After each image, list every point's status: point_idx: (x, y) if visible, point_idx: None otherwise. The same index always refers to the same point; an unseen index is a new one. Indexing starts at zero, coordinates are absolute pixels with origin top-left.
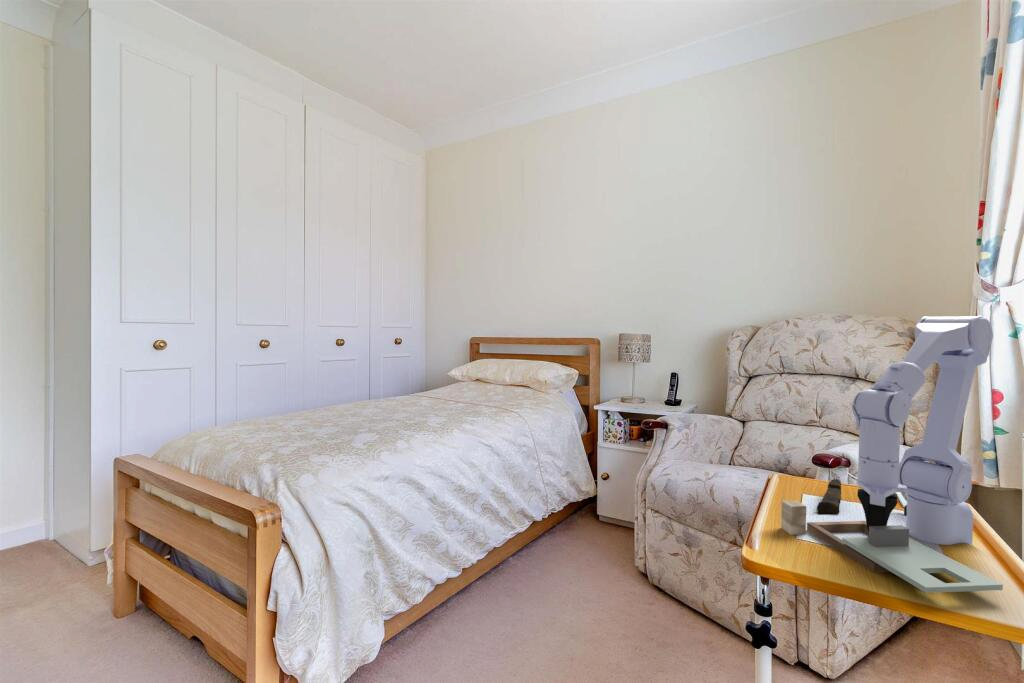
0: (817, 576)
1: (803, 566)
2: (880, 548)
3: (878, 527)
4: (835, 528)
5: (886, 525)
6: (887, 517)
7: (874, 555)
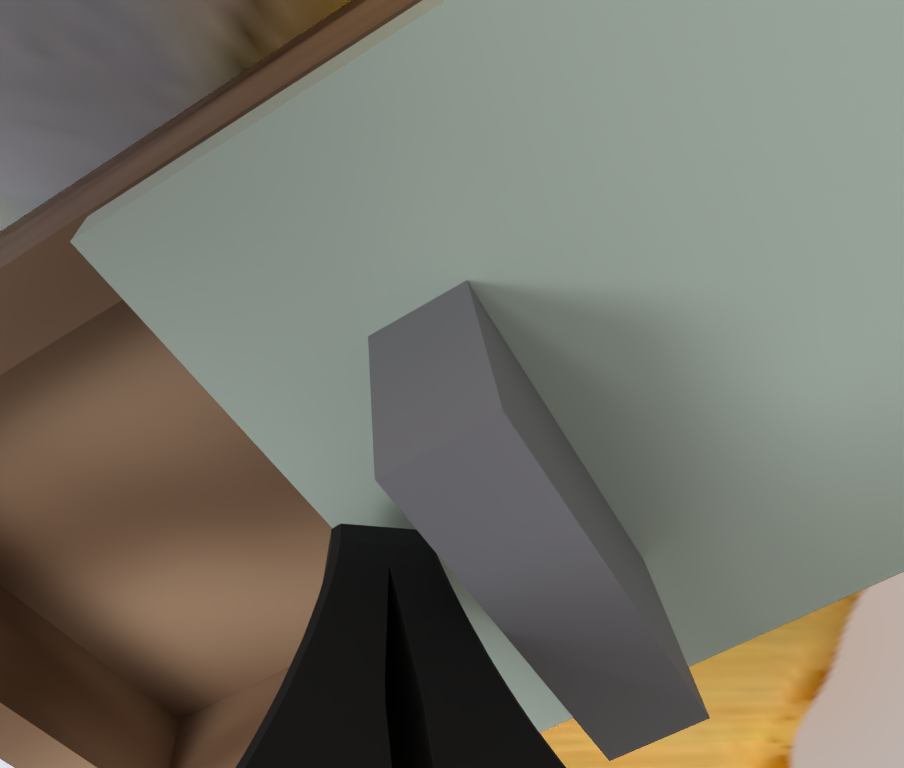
0: (790, 681)
1: (680, 731)
2: (664, 531)
3: (610, 697)
4: (38, 684)
5: (469, 623)
6: (535, 739)
7: (842, 582)
